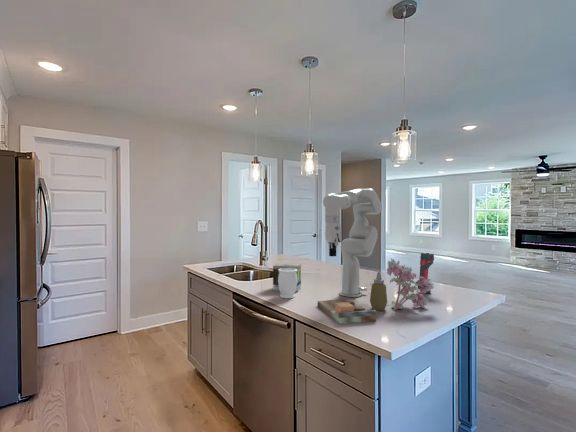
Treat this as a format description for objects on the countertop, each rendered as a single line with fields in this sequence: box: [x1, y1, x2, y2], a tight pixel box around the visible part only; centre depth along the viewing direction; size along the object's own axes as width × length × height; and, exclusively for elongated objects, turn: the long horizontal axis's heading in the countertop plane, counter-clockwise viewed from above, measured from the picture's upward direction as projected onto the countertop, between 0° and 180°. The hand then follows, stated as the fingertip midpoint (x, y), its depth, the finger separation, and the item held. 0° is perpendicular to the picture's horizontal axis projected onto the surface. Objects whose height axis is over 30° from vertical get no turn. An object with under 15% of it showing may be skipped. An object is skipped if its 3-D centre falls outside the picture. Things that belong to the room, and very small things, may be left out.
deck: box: [317, 298, 377, 325], centre depth 149 cm, size 17×26×4 cm, turn 15°
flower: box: [386, 257, 435, 311], centre depth 158 cm, size 20×22×25 cm
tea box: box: [272, 263, 302, 293], centre depth 193 cm, size 15×10×15 cm, turn 76°
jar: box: [278, 268, 297, 299], centre depth 176 cm, size 11×10×15 cm
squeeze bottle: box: [369, 271, 388, 312], centre depth 156 cm, size 8×8×18 cm
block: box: [335, 302, 354, 315], centre depth 140 cm, size 6×6×4 cm
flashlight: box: [417, 252, 435, 294], centre depth 190 cm, size 8×8×23 cm
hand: (332, 255), depth 162 cm, fingers closed
